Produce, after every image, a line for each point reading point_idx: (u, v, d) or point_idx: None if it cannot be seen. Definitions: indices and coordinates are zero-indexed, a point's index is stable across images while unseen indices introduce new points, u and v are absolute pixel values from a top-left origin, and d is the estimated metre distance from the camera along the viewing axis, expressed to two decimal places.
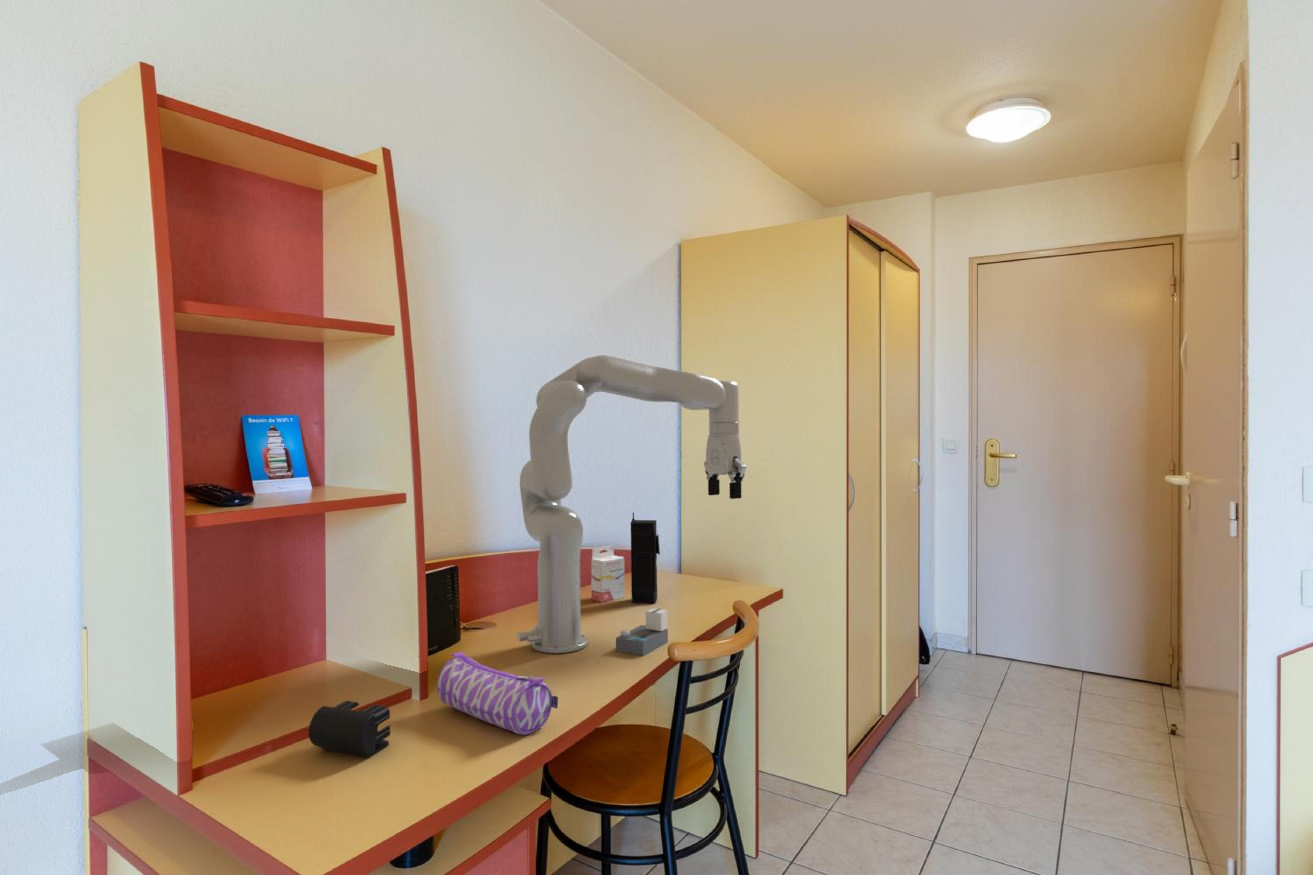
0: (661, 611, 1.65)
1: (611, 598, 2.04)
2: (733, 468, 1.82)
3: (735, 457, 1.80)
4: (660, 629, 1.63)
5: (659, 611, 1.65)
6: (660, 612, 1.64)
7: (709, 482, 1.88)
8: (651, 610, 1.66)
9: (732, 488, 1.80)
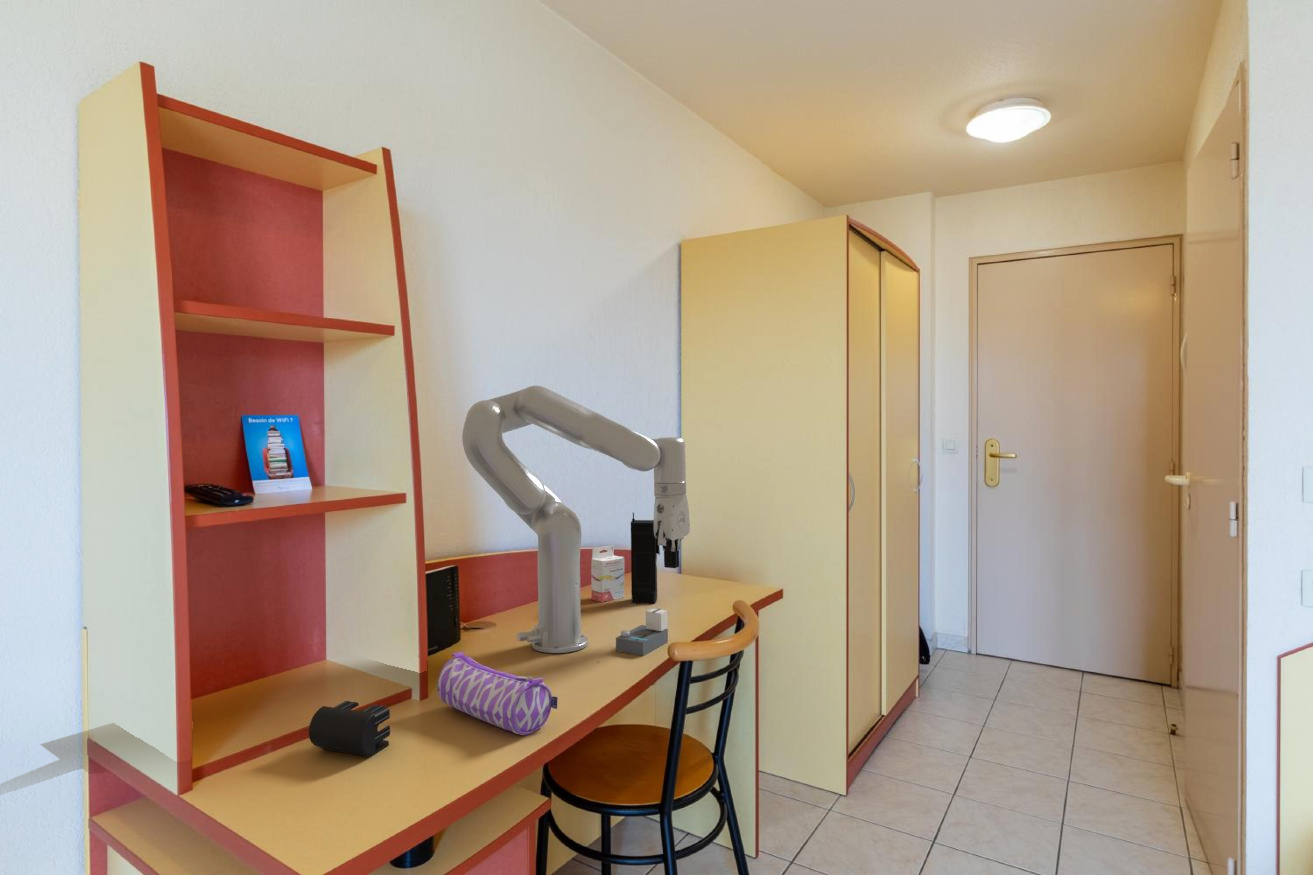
0: (661, 611, 1.65)
1: (611, 598, 2.04)
2: None
3: None
4: (660, 629, 1.63)
5: (659, 611, 1.65)
6: (660, 612, 1.64)
7: None
8: (651, 610, 1.66)
9: None
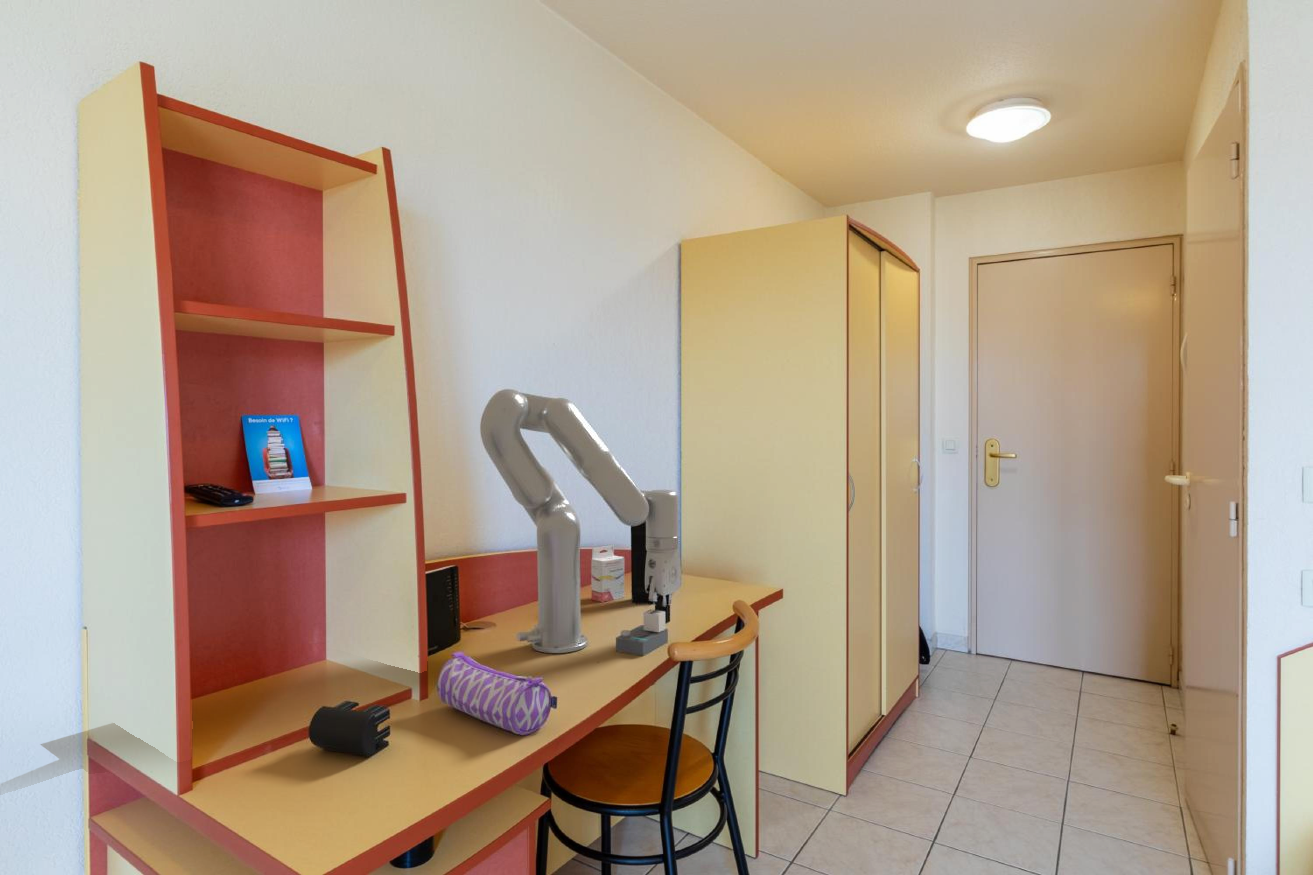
0: (659, 612, 1.64)
1: (611, 598, 2.04)
2: None
3: None
4: (658, 630, 1.62)
5: (657, 612, 1.64)
6: (658, 613, 1.63)
7: None
8: (649, 611, 1.65)
9: None
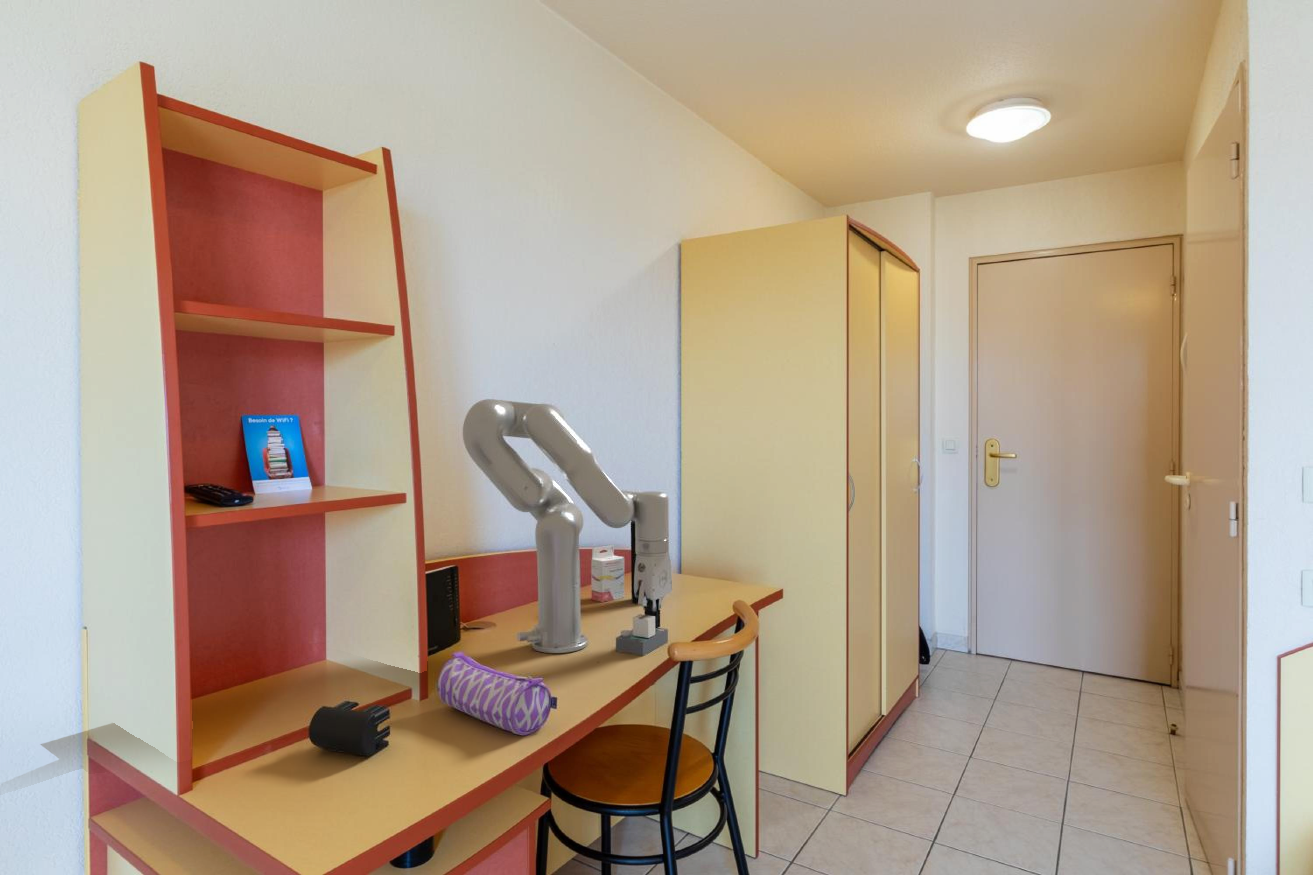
0: (649, 617, 1.60)
1: (611, 598, 2.04)
2: None
3: None
4: (647, 636, 1.58)
5: (646, 617, 1.60)
6: (647, 618, 1.59)
7: (657, 613, 1.63)
8: (638, 616, 1.61)
9: None
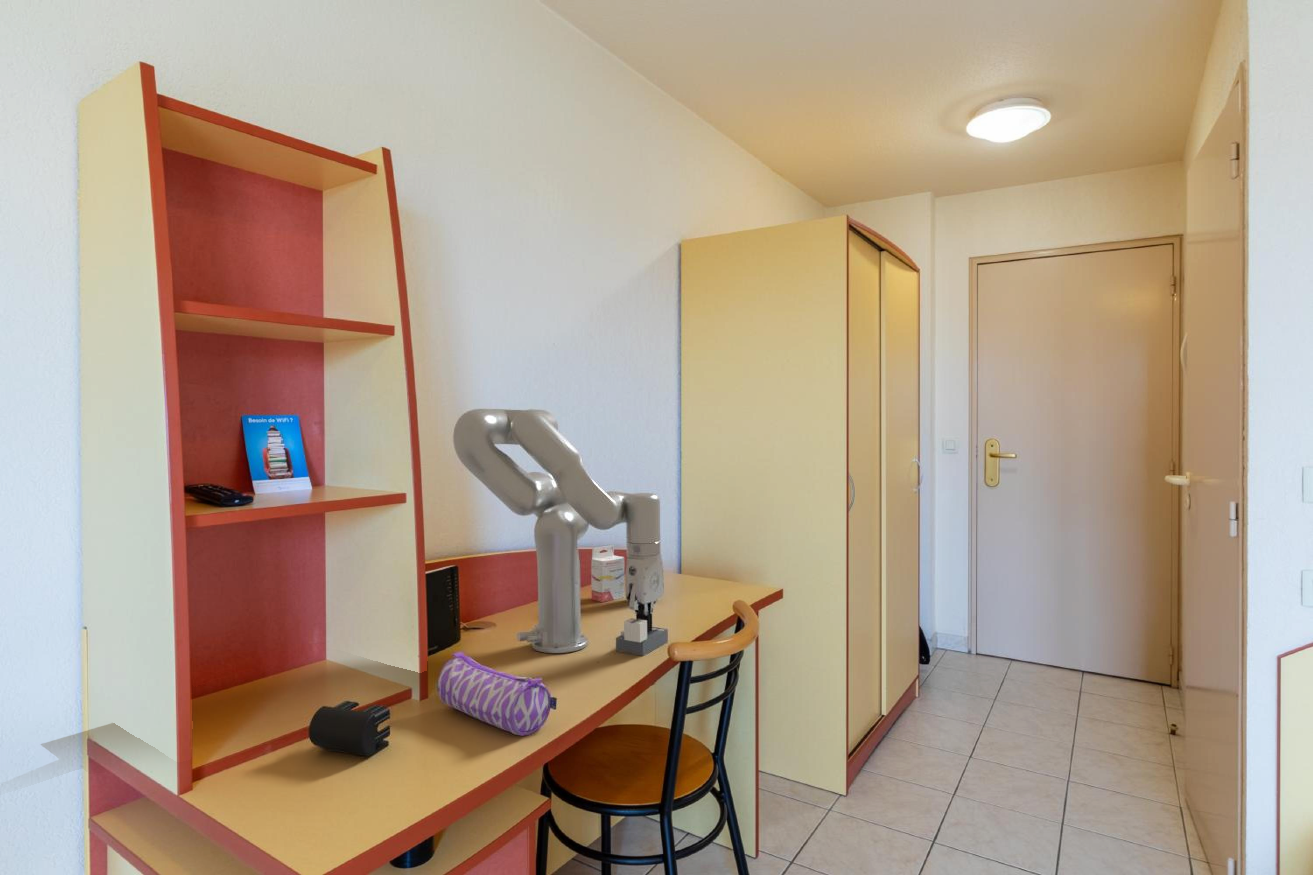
0: (641, 621, 1.57)
1: (611, 598, 2.04)
2: None
3: None
4: (639, 640, 1.55)
5: (638, 621, 1.57)
6: (639, 622, 1.56)
7: (649, 617, 1.60)
8: (630, 620, 1.58)
9: None
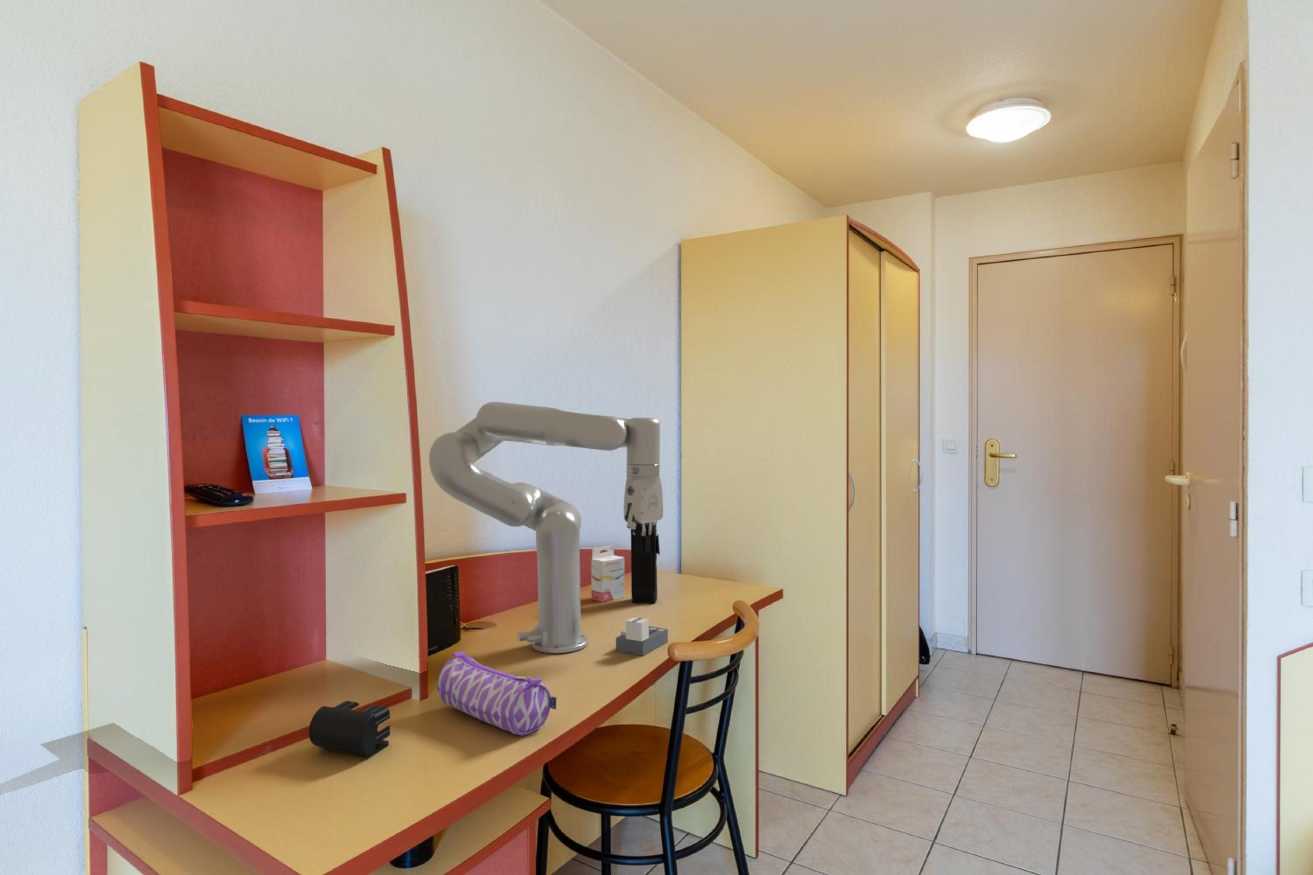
0: (642, 620, 1.57)
1: (611, 598, 2.04)
2: None
3: None
4: (641, 639, 1.56)
5: (640, 620, 1.57)
6: (641, 621, 1.57)
7: (646, 538, 1.64)
8: (631, 619, 1.58)
9: None
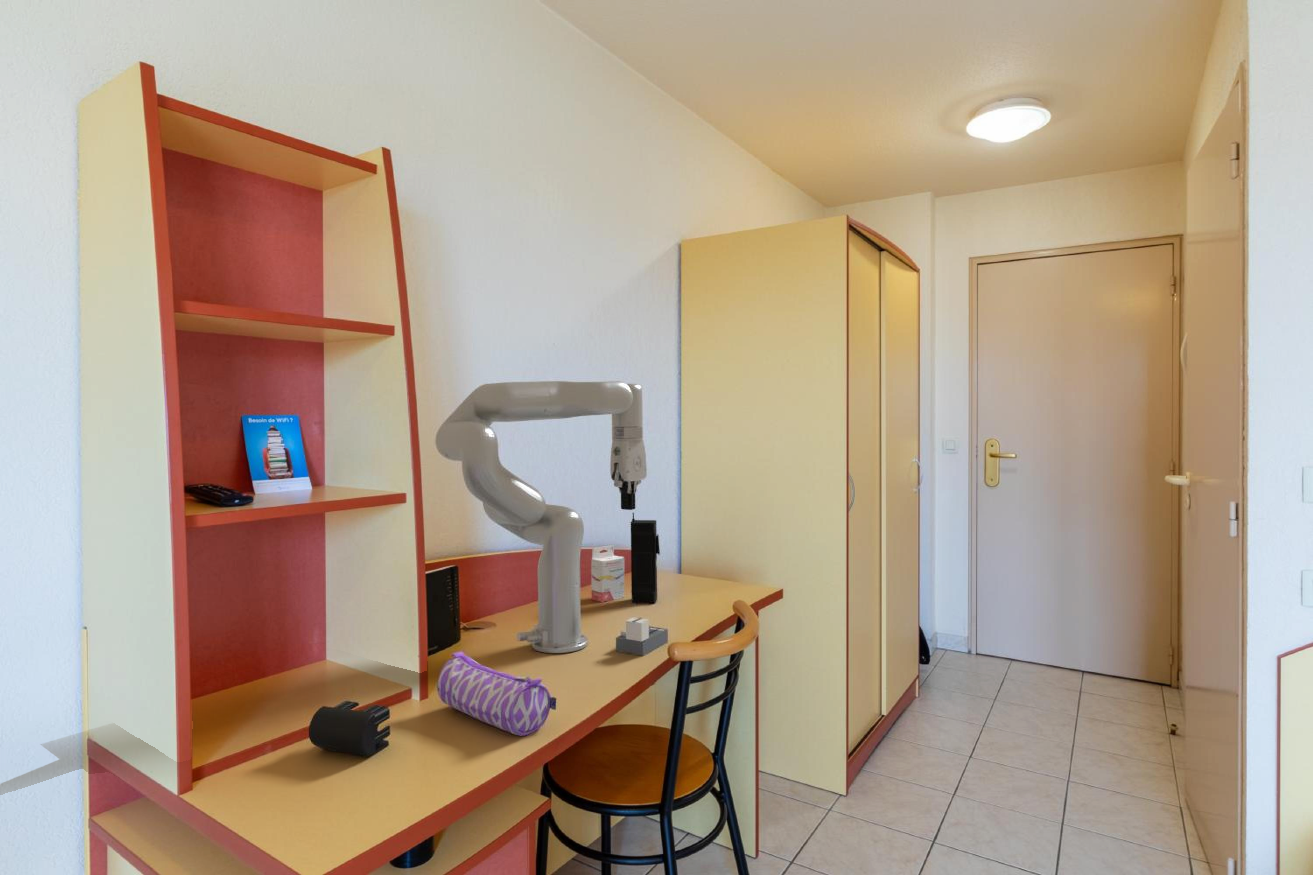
0: (642, 620, 1.57)
1: (611, 598, 2.04)
2: None
3: None
4: (641, 639, 1.56)
5: (640, 620, 1.57)
6: (641, 621, 1.57)
7: (632, 496, 1.76)
8: (631, 619, 1.58)
9: None
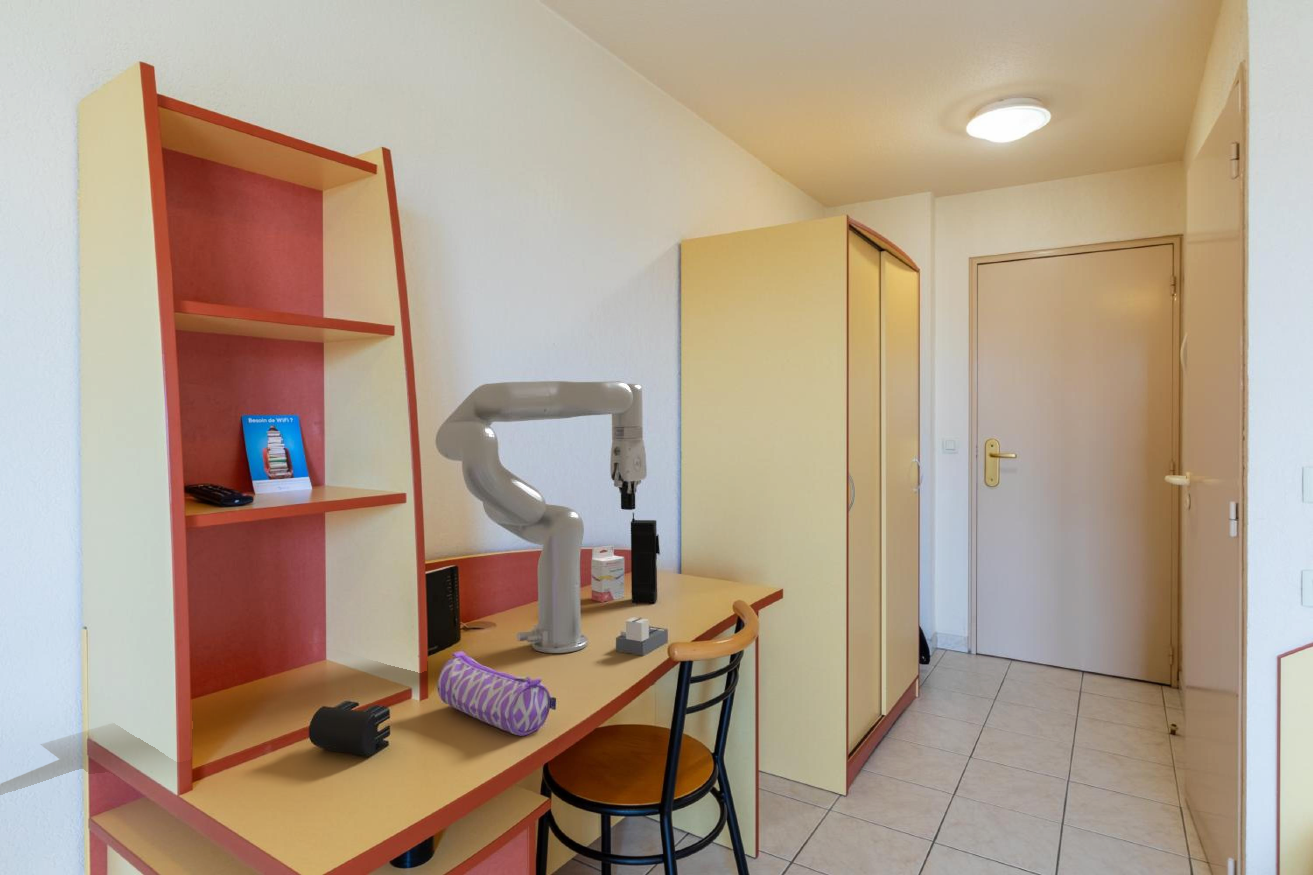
0: (642, 620, 1.57)
1: (611, 598, 2.04)
2: None
3: None
4: (641, 639, 1.56)
5: (640, 620, 1.57)
6: (641, 621, 1.57)
7: (632, 496, 1.76)
8: (631, 619, 1.58)
9: None
